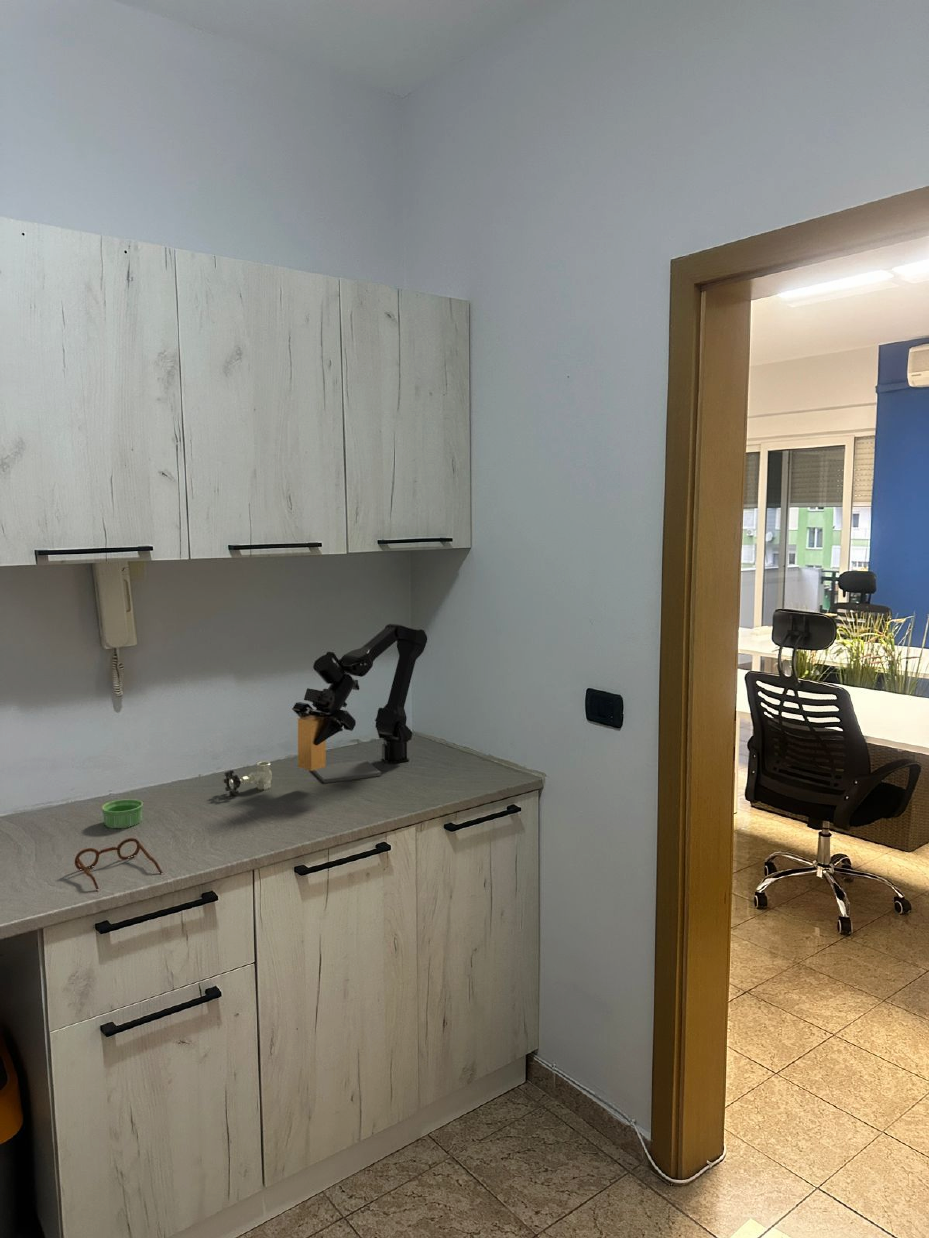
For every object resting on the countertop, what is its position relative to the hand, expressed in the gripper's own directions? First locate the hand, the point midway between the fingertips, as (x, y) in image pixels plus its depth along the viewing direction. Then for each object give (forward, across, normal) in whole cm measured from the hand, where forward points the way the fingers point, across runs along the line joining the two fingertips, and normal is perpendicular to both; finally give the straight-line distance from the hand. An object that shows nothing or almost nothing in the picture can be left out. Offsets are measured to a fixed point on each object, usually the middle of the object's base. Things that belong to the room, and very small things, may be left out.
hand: (307, 742), depth 231 cm
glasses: (+52, +8, -34) cm, 62 cm away
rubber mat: (-3, -2, +20) cm, 21 cm away
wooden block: (+4, 0, +6) cm, 7 cm away
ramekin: (+40, -17, -22) cm, 48 cm away
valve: (+16, -11, +2) cm, 20 cm away
